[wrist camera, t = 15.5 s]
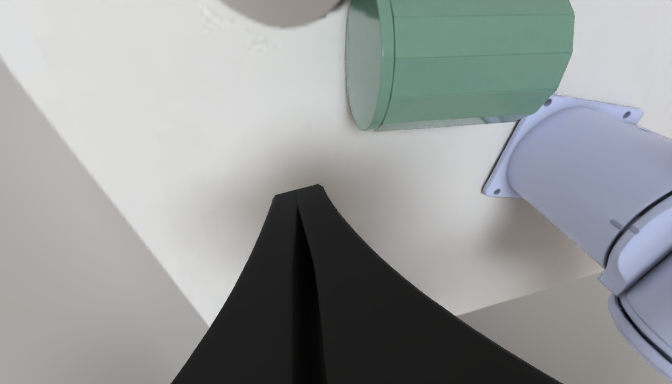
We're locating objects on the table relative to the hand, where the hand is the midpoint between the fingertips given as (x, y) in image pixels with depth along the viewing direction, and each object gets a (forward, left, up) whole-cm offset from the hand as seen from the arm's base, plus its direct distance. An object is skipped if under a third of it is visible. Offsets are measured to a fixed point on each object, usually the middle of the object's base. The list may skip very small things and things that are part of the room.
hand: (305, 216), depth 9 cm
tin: (-3, -3, -7) cm, 8 cm away
